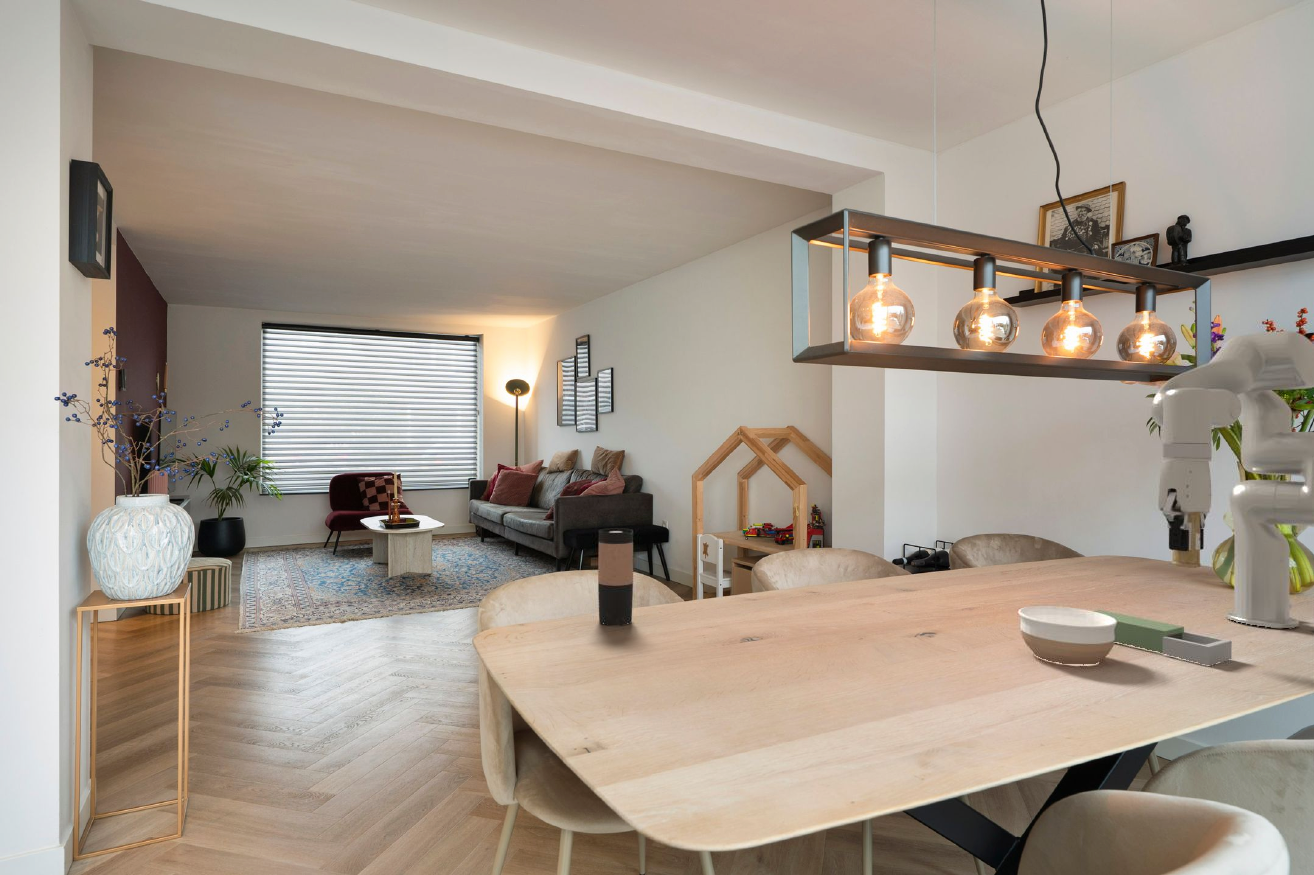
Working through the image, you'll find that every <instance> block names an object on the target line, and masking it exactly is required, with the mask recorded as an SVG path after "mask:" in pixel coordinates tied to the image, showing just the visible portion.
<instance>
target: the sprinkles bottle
mask: <svg viewBox="0 0 1314 875" xmlns="http://www.w3.org/2000/svg"><path fill="white" fill-rule="evenodd" d="M1199 506H1200V505H1199ZM1175 512H1182V511H1181V510H1180V509H1175ZM1181 517H1182V516H1179V518H1180V520H1181ZM1186 530H1189V550H1188V551H1178V550H1172V559H1171V560H1172V561H1171V564H1172V565H1173V566H1176V567H1180V568H1189V569H1190V568H1191V569H1197V568H1200V567H1201V550H1200V513H1199V512H1194V513H1189V514H1188V521H1187V528H1186Z"/></svg>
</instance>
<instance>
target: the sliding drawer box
mask: <svg viewBox="0 0 1314 875" xmlns="http://www.w3.org/2000/svg"><path fill="white" fill-rule="evenodd" d="M1092 611H1093V612H1097V613H1101V614H1105V615H1108V616H1110V617H1112V618H1114V619H1115V620H1116V621H1117V624H1116V626H1115V629H1114V636H1115V639H1114V642H1119V643H1122V644H1127V645H1133V646H1135V647H1140V648H1145V649H1147V650H1152V651H1158V652H1160V653H1163V654H1167V655H1169V656H1174V657H1179V658H1181V659H1186V660H1189V661H1193V662H1198V663H1200V664H1205V665H1212V664H1216V663H1218V662H1222V663H1224V662H1223V661H1226V662H1228V661H1227V660H1229V659H1232V658H1233V657H1232V654H1233V652H1232V650H1233V649H1232V641H1233V640H1229V639H1224V638H1220V637H1215V636H1210V635H1206V634H1205V635H1204V634H1201V633H1196V632H1189V631H1185V626H1182V625H1176V624H1172V623H1167V622H1161V621H1157V620H1152V619H1148V618H1142V617H1136V616H1131V615H1127V614H1123V613H1122V614H1121V613H1117V612H1111V611H1106V610H1102V609H1097V610H1092ZM1229 661H1230V660H1229ZM1200 664H1199V665H1200ZM1216 665H1217V664H1216ZM1212 666H1213V665H1212Z"/></svg>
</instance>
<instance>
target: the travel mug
mask: <svg viewBox="0 0 1314 875" xmlns="http://www.w3.org/2000/svg"><path fill="white" fill-rule="evenodd" d="M597 560H598V565H597V566H598V569H597V571H598V572H597V574H598V576H597V577H598V578H597V582H598V584H597V586H598V588H597V589H598V590H597V591H598V592H597V593H598V622H599V624H601V623H604V624H608V625H607V626H610V625H620V626H624V625H623V624H627V623H629V624H631V623H632V619H633V618H632V617H633V595H634V593H633V592H634V531H633V529H629V528H602V529H600V530H598V559H597ZM630 622H631V623H630ZM627 625H628V624H627Z"/></svg>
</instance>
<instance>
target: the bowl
mask: <svg viewBox="0 0 1314 875" xmlns="http://www.w3.org/2000/svg"><path fill="white" fill-rule="evenodd" d="M1093 611H1094V610H1088V609H1082V608H1075V607H1066V606H1057V605H1056V606H1055V605H1054V606H1053V605H1052V606H1051V605H1035V606H1025V607H1022V608H1020V609H1019V610H1018V612H1017V613H1018V615H1019V616H1018V617H1019V618H1020V633H1021V634H1020V635H1021V638H1022V640H1023V641H1024V643H1025V645H1026V646H1027V647H1028V648H1029V649H1030V650H1031V651H1032V652H1033V655H1034V654H1035V655H1036V656H1038V657H1040V658H1042V659H1046V660H1048V661H1052V662H1059V663H1062V664H1083V665H1084V664H1096V663H1098V662H1100V663H1101V661H1102V660H1103V659H1104V658H1106V656H1109V654H1110V652H1111V651H1112V649H1113V648H1114V645H1115V644H1114V639H1115V636H1114V629H1115V626H1116V624H1117V621H1116V620H1115V619H1114V618H1112V617H1110V616H1108V615H1105V614H1101V613H1097V612H1093Z"/></svg>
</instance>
